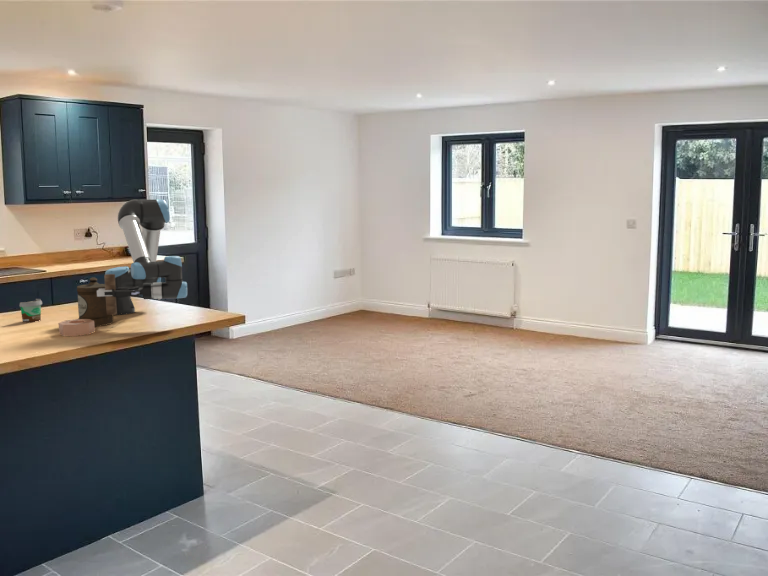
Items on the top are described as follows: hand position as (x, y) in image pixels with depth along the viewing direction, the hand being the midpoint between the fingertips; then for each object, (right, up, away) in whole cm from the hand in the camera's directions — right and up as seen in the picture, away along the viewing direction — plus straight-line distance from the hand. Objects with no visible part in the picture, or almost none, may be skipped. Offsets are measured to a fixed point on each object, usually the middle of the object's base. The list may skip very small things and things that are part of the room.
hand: (98, 292), depth 320 cm
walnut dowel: (+5, -10, +3) cm, 11 cm away
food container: (-40, -14, +24) cm, 49 cm away
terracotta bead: (-7, -18, -5) cm, 20 cm away
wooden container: (-8, -15, +18) cm, 24 cm away
